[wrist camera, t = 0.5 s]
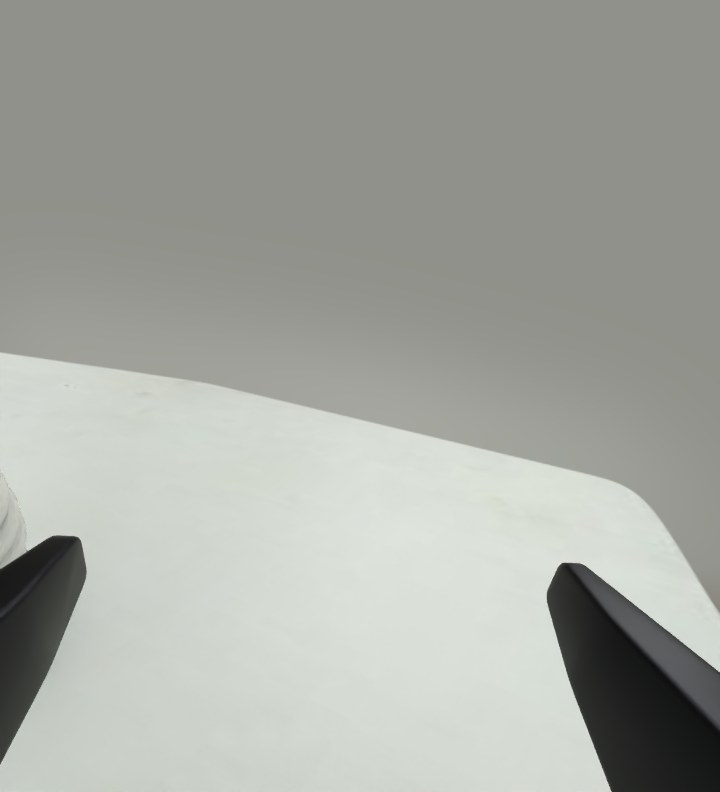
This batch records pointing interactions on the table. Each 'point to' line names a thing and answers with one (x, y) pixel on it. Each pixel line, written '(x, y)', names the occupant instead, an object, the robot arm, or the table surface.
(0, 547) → the light bulb
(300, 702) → the table surface
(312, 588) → the table surface
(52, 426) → the table surface
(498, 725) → the table surface
